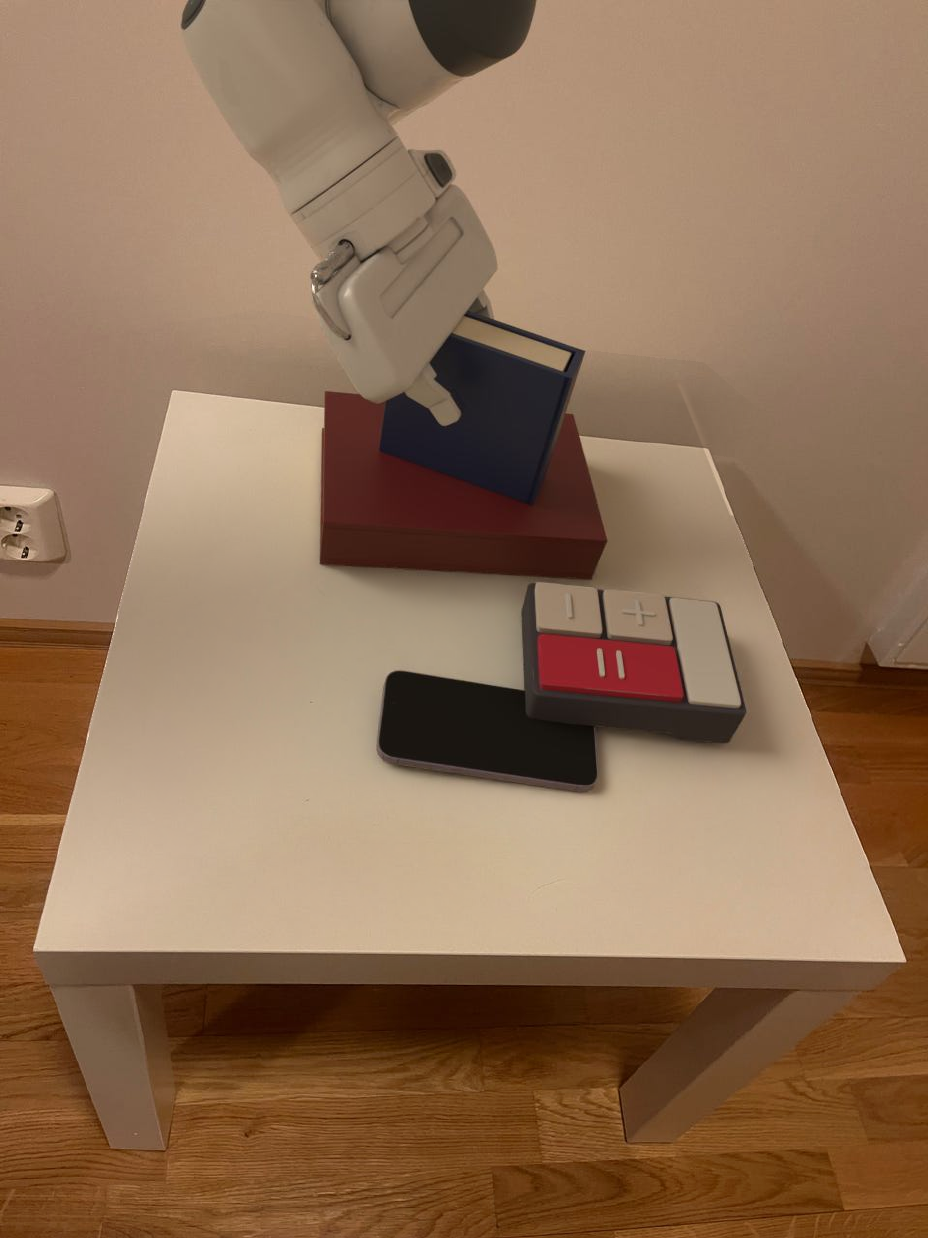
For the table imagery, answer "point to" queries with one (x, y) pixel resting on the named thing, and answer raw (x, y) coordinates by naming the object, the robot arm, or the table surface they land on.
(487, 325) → the hardcover book
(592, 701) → the calculator
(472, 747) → the smartphone
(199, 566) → the table surface
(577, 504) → the encyclopedia
